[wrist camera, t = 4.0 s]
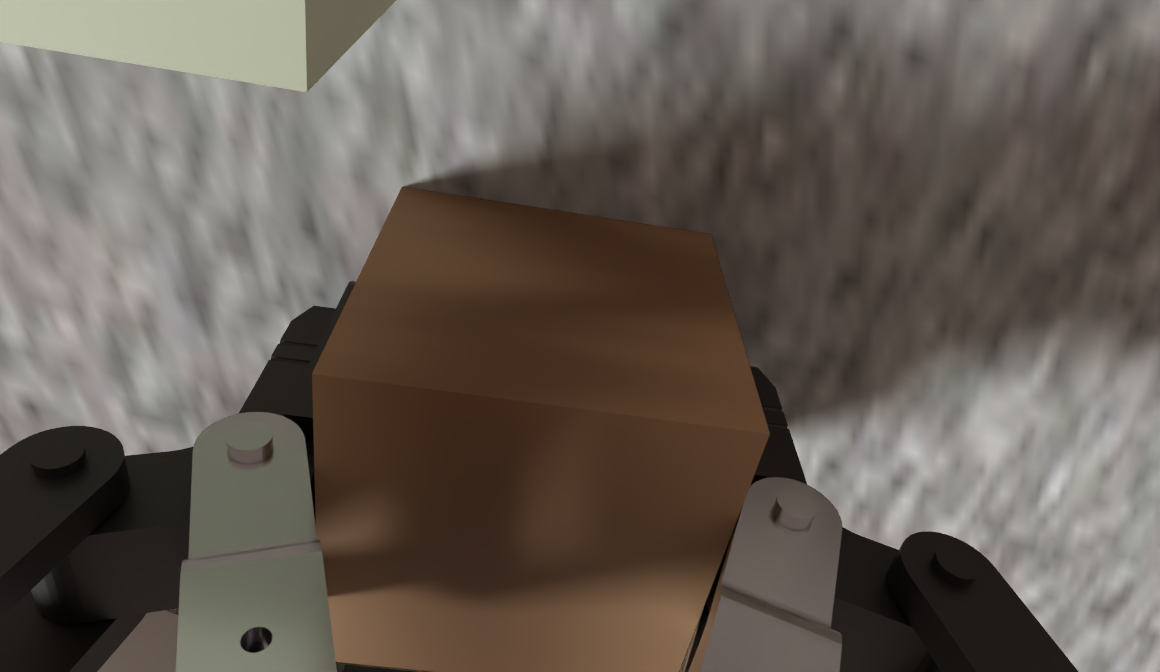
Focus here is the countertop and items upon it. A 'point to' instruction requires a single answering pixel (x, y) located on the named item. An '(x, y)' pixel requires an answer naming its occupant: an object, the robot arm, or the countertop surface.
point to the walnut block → (529, 441)
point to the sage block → (199, 34)
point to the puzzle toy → (147, 646)
